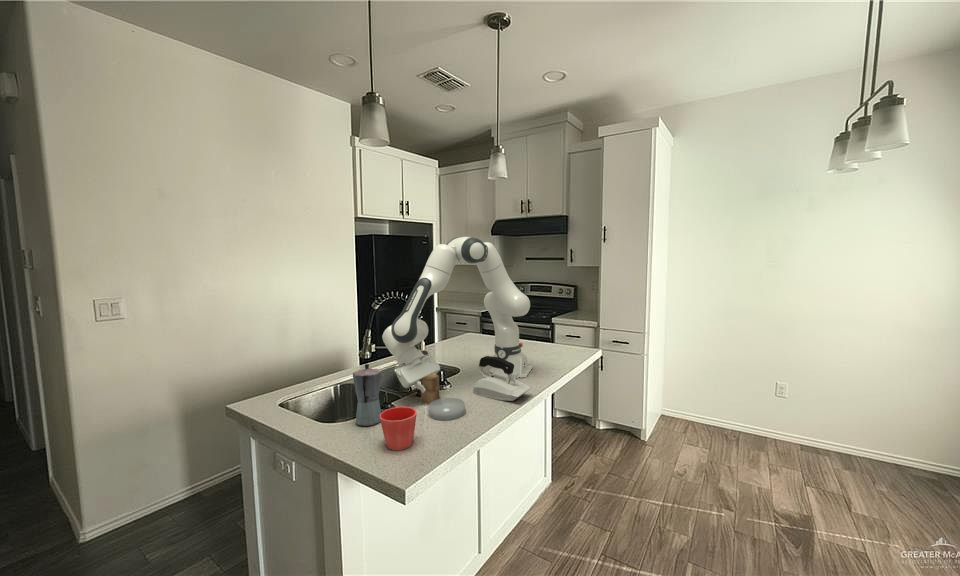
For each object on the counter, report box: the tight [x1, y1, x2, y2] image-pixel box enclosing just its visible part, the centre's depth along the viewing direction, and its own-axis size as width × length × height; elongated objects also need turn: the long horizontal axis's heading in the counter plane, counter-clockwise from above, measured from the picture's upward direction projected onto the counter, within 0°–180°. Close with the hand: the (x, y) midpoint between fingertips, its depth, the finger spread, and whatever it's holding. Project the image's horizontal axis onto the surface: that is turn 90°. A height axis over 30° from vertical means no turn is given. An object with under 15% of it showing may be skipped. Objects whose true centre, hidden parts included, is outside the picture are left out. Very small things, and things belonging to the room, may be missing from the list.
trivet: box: [428, 397, 466, 422], centre depth 137 cm, size 13×13×3 cm
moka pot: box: [352, 363, 382, 427], centre depth 131 cm, size 10×15×20 cm, turn 14°
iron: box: [472, 355, 533, 402], centre depth 152 cm, size 11×24×15 cm, turn 55°
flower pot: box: [380, 406, 418, 451], centre depth 115 cm, size 11×11×10 cm
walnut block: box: [420, 374, 441, 405], centre depth 148 cm, size 5×5×10 cm
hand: (431, 388), depth 148 cm, fingers open, 6 cm apart
